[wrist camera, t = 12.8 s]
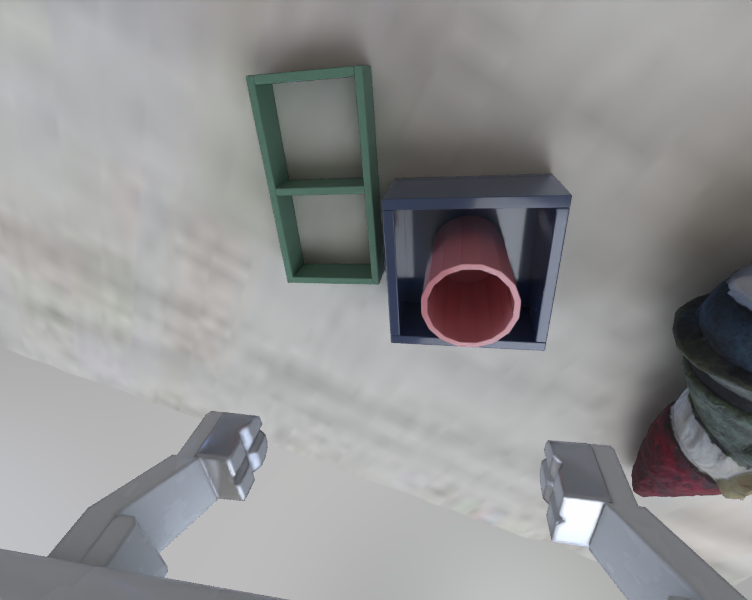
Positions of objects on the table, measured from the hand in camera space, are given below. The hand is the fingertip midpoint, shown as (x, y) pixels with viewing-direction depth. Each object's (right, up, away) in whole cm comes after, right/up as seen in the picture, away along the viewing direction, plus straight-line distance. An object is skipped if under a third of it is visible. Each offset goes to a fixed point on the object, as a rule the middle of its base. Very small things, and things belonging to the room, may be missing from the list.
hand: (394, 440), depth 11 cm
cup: (+7, +8, +22) cm, 24 cm away
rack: (-4, +14, +22) cm, 27 cm away
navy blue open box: (+7, +9, +23) cm, 25 cm away
